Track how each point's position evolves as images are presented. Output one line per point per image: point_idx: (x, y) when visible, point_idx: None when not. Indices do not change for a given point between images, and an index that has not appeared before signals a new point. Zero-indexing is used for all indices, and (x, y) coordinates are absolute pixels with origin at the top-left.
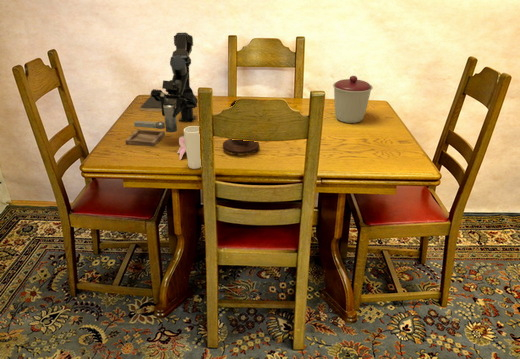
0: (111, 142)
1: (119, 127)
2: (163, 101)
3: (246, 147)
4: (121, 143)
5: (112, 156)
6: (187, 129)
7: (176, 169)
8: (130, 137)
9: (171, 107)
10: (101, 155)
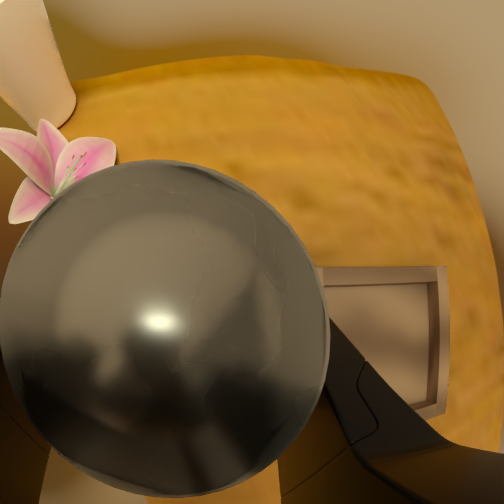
0: (479, 276)
1: (495, 422)
2: (388, 458)
3: None
4: (450, 276)
5: (412, 146)
6: (8, 8)
7: (119, 75)
8: (442, 306)
9: (62, 208)
10: (445, 155)
